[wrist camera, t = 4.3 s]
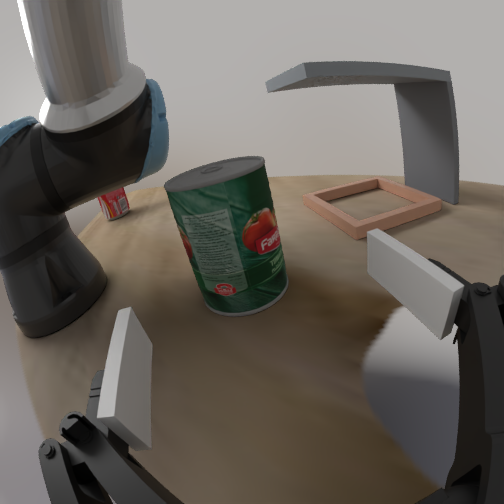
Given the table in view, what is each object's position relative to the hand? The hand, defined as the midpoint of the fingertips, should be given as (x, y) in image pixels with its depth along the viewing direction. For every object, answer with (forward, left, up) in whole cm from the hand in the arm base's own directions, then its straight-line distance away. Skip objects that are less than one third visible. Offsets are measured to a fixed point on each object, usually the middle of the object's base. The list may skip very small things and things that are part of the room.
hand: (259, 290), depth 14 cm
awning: (+21, +18, -6) cm, 28 cm away
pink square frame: (+20, +19, -6) cm, 28 cm away
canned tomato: (0, +10, -6) cm, 12 cm away
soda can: (-23, +57, -6) cm, 61 cm away
